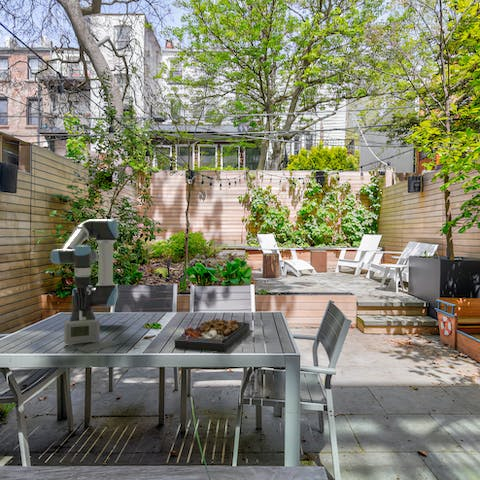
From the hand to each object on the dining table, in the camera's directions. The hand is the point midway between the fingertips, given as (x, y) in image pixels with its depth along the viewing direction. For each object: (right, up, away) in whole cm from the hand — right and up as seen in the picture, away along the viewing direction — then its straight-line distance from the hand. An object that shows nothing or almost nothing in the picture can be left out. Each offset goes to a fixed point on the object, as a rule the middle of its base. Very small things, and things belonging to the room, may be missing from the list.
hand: (82, 323), depth 184 cm
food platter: (+66, -10, +7) cm, 67 cm away
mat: (+11, -10, -7) cm, 16 cm away
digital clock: (0, -9, -1) cm, 9 cm away
